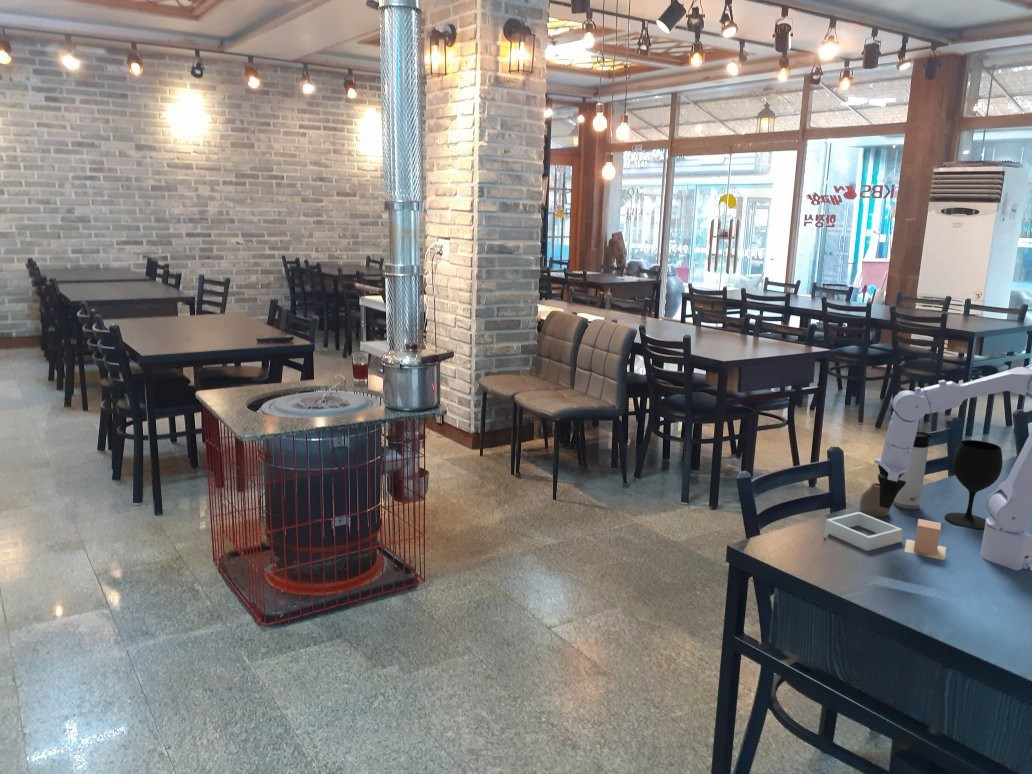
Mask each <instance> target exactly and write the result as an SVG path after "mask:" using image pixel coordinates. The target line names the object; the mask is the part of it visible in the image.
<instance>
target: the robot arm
mask: <svg viewBox="0 0 1032 774" xmlns="http://www.w3.org/2000/svg"><path fill="white" fill-rule="evenodd" d="M1002 392H1011V393H1014V394H1018V395H1021V396H1026V395H1027V396H1029V398H1031V399H1032V364H1030V365H1029V364H1028V365H1027V366H1017V367H1014V368H1011V369H1008V370H1004V371H1001V372H997V373H994V374H991V375H987V376H984V377H981V378H977V379H973V380H970V381H967V382H962V383H960V384H959V383H956V382H955V381H953V380H949V381H946V380H945V379H941V380H938V383H937V384H933V385H929V386H926V387H920V386H917V387H915V388H914V390H907V389H906V390H901V391H899V392H898V393H897V394H895V396H894V397H893V398H892V399H891V407H892V409H893V411H892V413H891V419H890V421H889V422H888V427H887V432H886V435H885V440H884V444H883V447H882V448H883V449H882V453H881V456H880V458H876V457H875V458H874V460H873V461H874V464H878V465H877V467H878V470H879V473H878V474H877V479H878V484H880V499H879V505H880V506H881V507H885V508H890V509H891V507H892V505H894V503H893V501H894V499H895V497H896V495H897V494H898V492H899V491H900V490H901V489H902V488H903V487H904V486H905V484H906V481H902V480H899V478H900V477H901V476H902V475H903V474H904V473H905V472H906V471H908V469H909V466H908V465H909V461H910V457H911V453H912V449H913V445H914V441H915V437H916V433H917V432H918V430H919V428H918V426H919V423H920V420H921V419H922V418H923V417H925V415H926V414H927V415H929V414H935V413H939V412H942V411H945V410H951V409H954V408H959V407H960V406H961V405H962V404H963V402H964V401H965V400H968V399H971V398H972V399H973V398H977V397H981V396H982V397H983V396H987V395H992V394H996V393H997V394H998V393H1002ZM985 507H986V509H987V511H988V512H989V515H988V516H987V518H985V519H986V523H985V529H984V530H983V535H982V540H981V541H982V542H981V547H980V552H979V555H980V556H981V558H983V559H984V560H985V561H988V562H990V563H994V564H996V565H997V564H998V565H1001V566H1003V567H1006V568H1008V569H1011V570H1012V571H1013V570H1014V571H1020V570H1021V571H1022V570H1023V569H1025V570H1027V569H1028V568H1029V569H1030V572H1032V534H1030V533H1028V532H1026V530H1025V528H1026V527H1027V526H1028V525H1029V523H1030V521H1031V514H1030V513H1031V509H1032V430H1031V431H1030V432H1029V435H1028V436H1027V438H1026V440H1025V442H1024V445H1023V447H1022V448H1021V450H1020V452H1019V455H1018V456H1017V459H1016V461H1015V462H1014V464H1013V466H1012V468H1011V470H1010V472H1009V474H1008V476H1007V478H1006V479H1005V480H1003V481H1002V482H1000V484H998V487H997V488H996V489H995V491H993V492H992V493H990V494H989V495H988V497H987V498H986V501H985Z"/></svg>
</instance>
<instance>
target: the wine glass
mask: <svg viewBox="0 0 1032 774" xmlns="http://www.w3.org/2000/svg"><path fill="white" fill-rule="evenodd" d="M1003 459H1004V458H1003V451H1002V448H1001V446H1000V445H998V444H995V443H991V442H988V441H983V440H974V439H964V440H961V441H960V442H959V444H958V445H957V448H956V450H955V453H954V455H953V460H952V468H953V473H954V475H955V477H956V479H957V480H958V482H959V483H960V484H961V485H962V486H963V487H964V488H965V489H966V490H967V491H968V503H967V508H966V512H965V513H964V512H948V513H946V514H944V516H943V518H944V520H945V521H946V522H948V523H949V524H952V525H953V526H956V527H961V528H967V529H971V530H977V531H984V529H985V523H986V519H987V518H984V517H982V516H979V515H974V514H973V506H974V505H973V504H974V502H975V501H974V500H975V496H976V494H977V493H978V492H980V491H982V490H985V489H987V488H988V487H990V486H992V485H993V484H994V483H996V481H997V480H998V479H999V477H1000V475H1001V473H1002V468H1003Z"/></svg>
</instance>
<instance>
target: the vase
mask: <svg viewBox="0 0 1032 774" xmlns="http://www.w3.org/2000/svg"><path fill="white" fill-rule="evenodd" d="M879 499H880V484H879V482H878V483H876V482H875V483H872V484H871V485H870V487H869V488H868V489H866V490H865V491H864V492H863V493H862V496H861V497H860V502H859V509H860V512H861V513H864V514H866V515H869V516H871V517H874V518H875V517H876V518H885V517H887V516H888V514H889V513H890V511H891V507H890V508H885V507H881V506H880V505H879Z"/></svg>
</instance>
